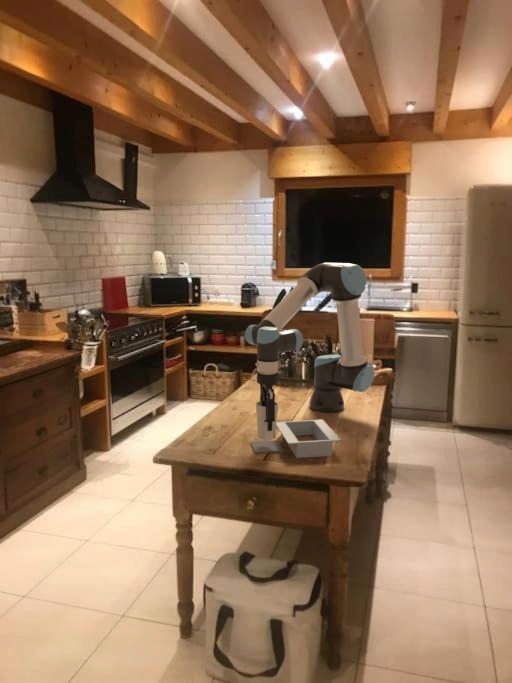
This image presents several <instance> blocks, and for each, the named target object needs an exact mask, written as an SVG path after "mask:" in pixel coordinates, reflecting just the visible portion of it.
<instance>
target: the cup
mask: <svg viewBox="0 0 512 683" xmlns="http://www.w3.org/2000/svg"><path fill="white" fill-rule="evenodd" d="M278 411H279V402H277V401H275V421H273V439H272V440H274V439H275V438H276V434H277V433H276V431H277V426H276V422H278V421H277V420H278ZM255 412H256V425H257V426H256V427H257V438H259V439H261V440H263V441H271V439H265V422H264V420H266V407H264V406H262V401H260V400H259V401H257V402H256V403H255Z"/></svg>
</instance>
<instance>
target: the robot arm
mask: <svg viewBox="0 0 512 683" xmlns="http://www.w3.org/2000/svg"><path fill="white" fill-rule="evenodd" d="M366 286H367V276H366V273H365V270H364V268H362V267H361V266H360V265H358V264H356V263H355V264H354V263H350V262H349V263H348V262H346V263H345V262H344V263H343V262H323V263H319V264H317V265H315V266H313V267H312V268H310V269H308V270H307V271H306V272H304V273H303V274H302V275H301V276H300V277H299V278H298V279H297V283H296V285H295V286H294V287H293V288H292V289H291V290H290V292H288V294H286V295H285V296H284V297H283V298H282V299H281V301H280V302H278V304H276V306H275V307H274V308H273V309H272V310H271V311H270V312H269V313H268V314H267V315H266V316H265V317H264V318H263V319H262V320H261V321H260V322H259V323H258V324H250V325H249V326H248V327H247V328H246V329H245V333H244V338H245V340H246V342H247V343H248V344H250V345H253V346H255V347H256V349H257V350H256V354H257V355H256V363H255V366H256V371H257V373H256V383H257V384H259V386H260V388H259V390H260V391H259V393H260V394H259V401H262V406H264V407H266V420H264V422H265V439H270V440H274V439H273V421H275V402H276V401H275V400H276V398H275V397H276V393H275V388H273V386H274V385H277V384H278V383H279V370H280V368H279V366H280V356H279V355H280V354H282V353H287V352H293V351H296V350H299V349H300V348H301V347H302V346H303V344H304V336H303V334H302V332H301V331H300V330H298V329H296V328H289V329H283V328H284V327H285V326H286V325H287V324H288V322H289V321H290V320H292V319H293V317H294V316H295V315H296V314H297V313H298V312H299V311H300V310H301V309H302V307H304V306H305V305H306V304H307V302H308V301H309V300H310V299H311V298H315V297H317V296H318V295H319V294H320V293H323V292H325V293H326V292H327V293H331V294H330V295H331V300H332V301H333V302H334V303H336V313H337V322H338V331H339V333H338V334H339V341H340V343H339V344H340V350H341V355H340V354H325V355H320V356H317V357H316V358H315V359H314V365H313V368H314V369H313V370H314V371H313V374H314V375H313V382H314V383H313V391H312V394H311V396H310V399H309V403H308V404H309V409H312V410H314V411H317V412H321V413H323V412H324V413H334V412H335V413H336V412H340V411H342V410H344V408H345V401H344V398H343V394H342V389H345V390H350V391H354V392H360V393H364V392H365V391H367V390H369V388H370V387H371V385H372V384H373V381H374V377H375V369H374V367H373V365H370V364H368V358H367V356H366V355H364V353H363V352H364V350H363V341H362V333H361V332H362V330H361V321H360V320H361V319H360V318H361V317H360V309H359V300H360V298H361V297H362V294H363V293H364V292H365V290H366Z"/></svg>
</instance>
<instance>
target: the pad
mask: <svg viewBox="0 0 512 683" xmlns="http://www.w3.org/2000/svg"><path fill="white" fill-rule="evenodd" d="M250 445H251V448H252V449H253V452H254V454H255V455H261V454H274V453H284V448H283V447H282V445H281V444H280V442H279V440H277V439H275V440H274V439H270V440H260V441H259V440H256V441H250Z"/></svg>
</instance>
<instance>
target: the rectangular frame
mask: <svg viewBox="0 0 512 683" xmlns="http://www.w3.org/2000/svg"><path fill="white" fill-rule="evenodd" d="M276 428H277V429H278V430H279V432H280V434H281V436H282V437H283V439H284V440H285V443H286V444H287V445H288V447H289V448H290V449H291V451H292V453H293V454H294V456H295V457H296V459H302V458H317V457H319V458H320V457H331V456H333V449H334V448H333V447H334V446H333V445H334V444H333V443H334V442H342V439H341V438H340V437H339V436H338V435H337V434H336V433H335V431H334V430H333V429H332V428H331V427H330V426H329V425H328V424H327V422H326V421H325V420H324V419H308V420H291V421H290V420H289V421H277V422H276ZM309 435H310V436H311V435H313V436H314V438H315V439H316V440H303V441H299V440H298V438H297V436H309Z"/></svg>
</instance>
